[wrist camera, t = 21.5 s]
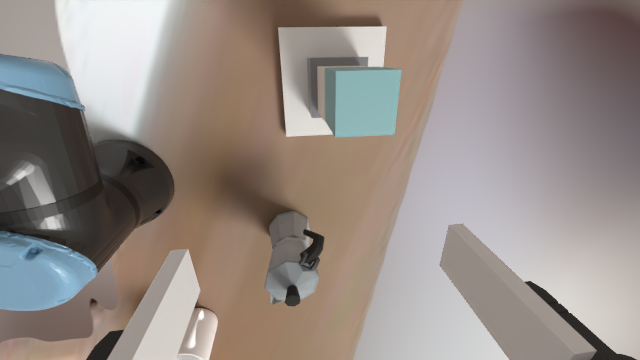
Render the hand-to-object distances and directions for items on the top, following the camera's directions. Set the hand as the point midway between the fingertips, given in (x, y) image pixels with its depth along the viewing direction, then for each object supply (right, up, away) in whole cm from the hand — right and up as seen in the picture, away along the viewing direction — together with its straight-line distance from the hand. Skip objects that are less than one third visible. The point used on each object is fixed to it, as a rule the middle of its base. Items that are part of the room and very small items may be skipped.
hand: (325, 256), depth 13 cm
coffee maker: (-6, -5, +41) cm, 41 cm away
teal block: (+3, +14, +17) cm, 23 cm away
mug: (-28, -27, +48) cm, 62 cm away
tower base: (+2, +20, +30) cm, 36 cm away
